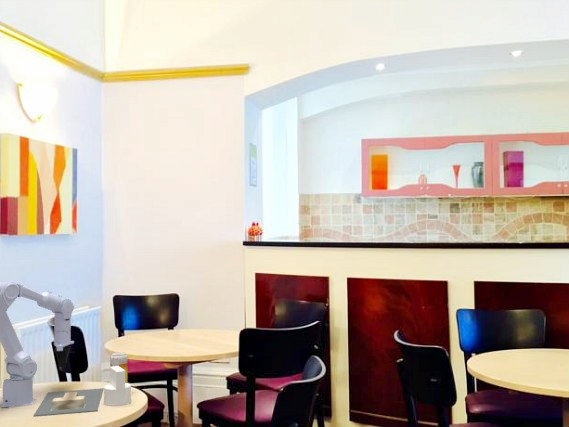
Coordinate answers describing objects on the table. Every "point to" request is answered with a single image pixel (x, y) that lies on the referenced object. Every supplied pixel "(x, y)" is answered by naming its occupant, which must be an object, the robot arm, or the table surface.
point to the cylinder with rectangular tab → (117, 388)
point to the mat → (90, 406)
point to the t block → (68, 401)
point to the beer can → (119, 362)
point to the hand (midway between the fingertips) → (62, 366)
